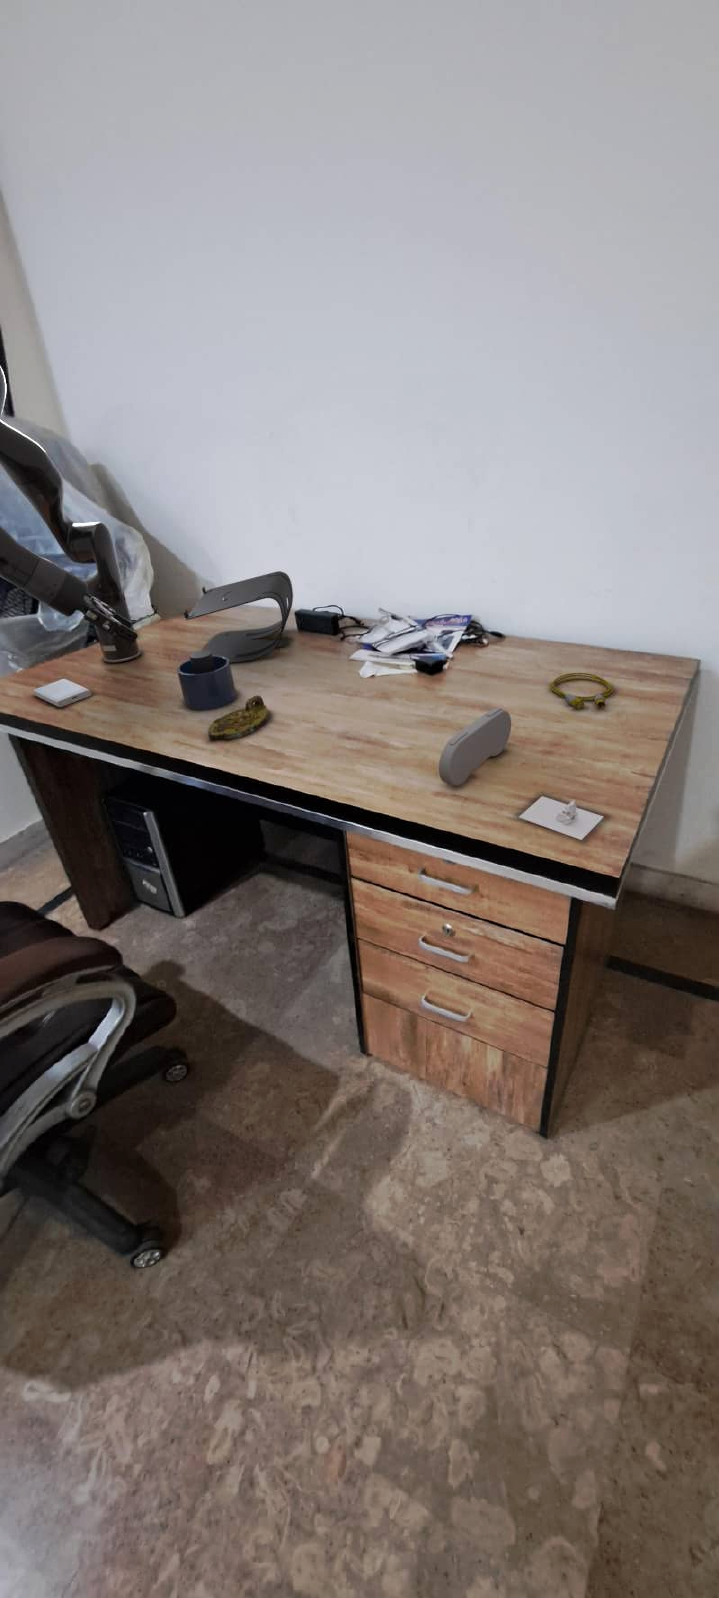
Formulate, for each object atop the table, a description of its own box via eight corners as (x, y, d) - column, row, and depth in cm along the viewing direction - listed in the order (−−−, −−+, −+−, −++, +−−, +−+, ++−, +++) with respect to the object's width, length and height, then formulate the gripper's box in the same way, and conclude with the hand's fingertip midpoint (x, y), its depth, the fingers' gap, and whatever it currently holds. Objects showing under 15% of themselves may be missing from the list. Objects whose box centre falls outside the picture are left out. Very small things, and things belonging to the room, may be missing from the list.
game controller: (499, 742, 121) (500, 699, 116) (510, 745, 119) (512, 702, 115) (437, 790, 109) (436, 745, 104) (449, 794, 107) (448, 748, 103)
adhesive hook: (570, 827, 97) (572, 809, 96) (553, 821, 99) (555, 803, 97) (580, 817, 99) (582, 800, 97) (563, 812, 101) (565, 794, 99)
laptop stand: (288, 659, 165) (279, 596, 157) (193, 667, 166) (179, 604, 158) (298, 626, 187) (290, 569, 178) (214, 632, 188) (202, 576, 180)
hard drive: (32, 689, 158) (56, 701, 151) (65, 677, 163) (90, 688, 155) (34, 696, 159) (59, 708, 151) (67, 684, 164) (92, 695, 156)
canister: (197, 696, 149) (187, 653, 144) (217, 691, 150) (208, 648, 145) (202, 703, 145) (191, 659, 140) (222, 698, 147) (213, 654, 141)
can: (180, 696, 151) (172, 662, 147) (229, 684, 155) (222, 651, 150) (190, 714, 142) (182, 679, 138) (241, 701, 146) (235, 666, 141)
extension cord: (538, 705, 132) (539, 695, 131) (560, 675, 143) (560, 666, 142) (602, 713, 127) (603, 704, 126) (619, 682, 138) (621, 672, 137)
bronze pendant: (229, 751, 129) (281, 719, 138) (226, 729, 126) (280, 698, 136) (195, 736, 133) (248, 706, 143) (192, 715, 130) (246, 686, 140)
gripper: (67, 577, 120) (148, 626, 130) (62, 562, 132) (137, 609, 141) (46, 612, 122) (127, 658, 131) (43, 594, 133) (118, 638, 143)
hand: (132, 633), depth 136 cm, fingers open, 8 cm apart
